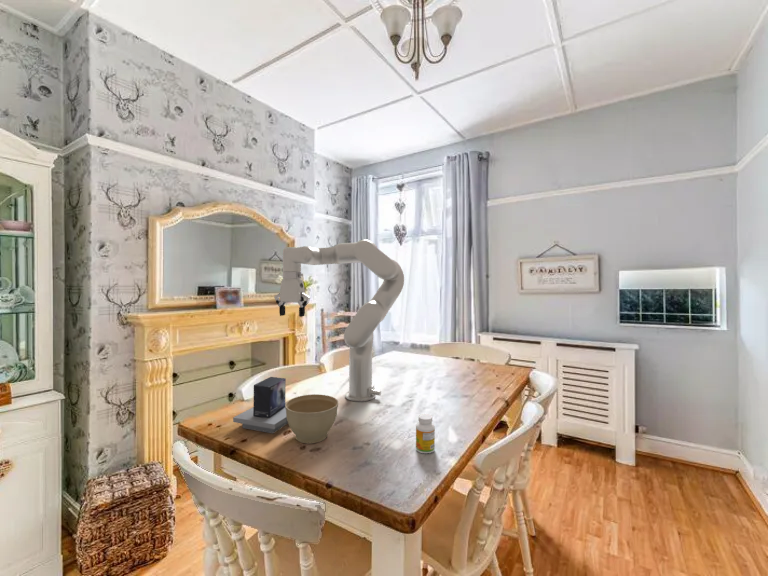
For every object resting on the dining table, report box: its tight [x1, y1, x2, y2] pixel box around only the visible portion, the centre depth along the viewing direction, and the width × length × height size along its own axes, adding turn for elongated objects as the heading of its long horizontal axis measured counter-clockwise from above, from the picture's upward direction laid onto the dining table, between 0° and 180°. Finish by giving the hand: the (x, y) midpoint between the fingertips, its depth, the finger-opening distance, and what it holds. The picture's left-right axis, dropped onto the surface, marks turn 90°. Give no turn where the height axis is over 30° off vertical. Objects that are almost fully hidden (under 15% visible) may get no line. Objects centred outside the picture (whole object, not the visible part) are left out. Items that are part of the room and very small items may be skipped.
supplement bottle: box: [415, 413, 436, 454], centre depth 100 cm, size 5×5×10 cm
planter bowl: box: [285, 393, 339, 444], centre depth 107 cm, size 16×16×11 cm
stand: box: [232, 406, 289, 434], centre depth 117 cm, size 16×16×4 cm
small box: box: [252, 376, 286, 418], centre depth 117 cm, size 11×6×10 cm, turn 167°
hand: (292, 315), depth 149 cm, fingers open, 9 cm apart
